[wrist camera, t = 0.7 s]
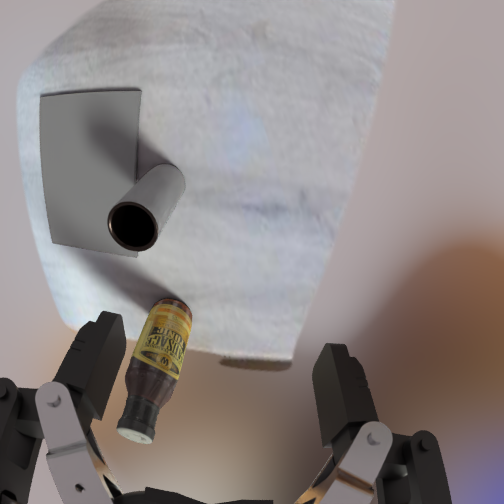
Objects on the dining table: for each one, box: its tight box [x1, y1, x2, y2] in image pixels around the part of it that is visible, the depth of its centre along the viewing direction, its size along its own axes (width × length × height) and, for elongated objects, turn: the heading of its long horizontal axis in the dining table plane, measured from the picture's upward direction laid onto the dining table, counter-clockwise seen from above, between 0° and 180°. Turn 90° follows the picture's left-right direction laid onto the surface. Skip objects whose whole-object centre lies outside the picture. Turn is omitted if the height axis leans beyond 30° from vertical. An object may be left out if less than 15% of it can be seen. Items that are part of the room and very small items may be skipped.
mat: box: [40, 91, 141, 258], centre depth 29 cm, size 20×14×1 cm
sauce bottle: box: [117, 298, 192, 444], centre depth 32 cm, size 7×6×20 cm
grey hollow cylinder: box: [107, 164, 185, 252], centre depth 26 cm, size 4×4×10 cm
